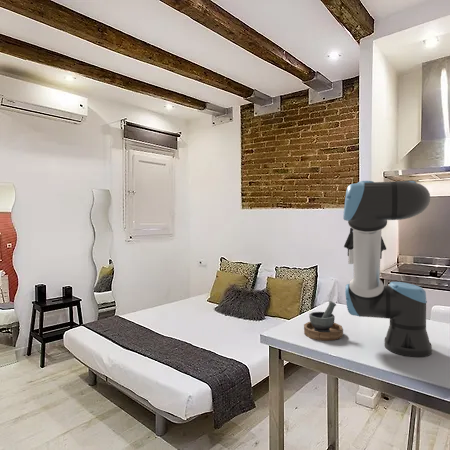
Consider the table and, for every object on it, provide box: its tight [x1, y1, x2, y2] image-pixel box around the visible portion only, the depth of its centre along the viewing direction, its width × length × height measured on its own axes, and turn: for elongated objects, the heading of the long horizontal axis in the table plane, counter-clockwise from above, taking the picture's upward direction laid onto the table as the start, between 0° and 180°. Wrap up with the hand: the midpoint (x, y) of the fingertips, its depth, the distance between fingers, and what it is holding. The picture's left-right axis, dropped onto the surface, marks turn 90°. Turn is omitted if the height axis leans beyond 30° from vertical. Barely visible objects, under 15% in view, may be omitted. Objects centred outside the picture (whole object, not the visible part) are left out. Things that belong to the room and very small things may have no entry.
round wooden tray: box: [303, 321, 344, 342], centre depth 143 cm, size 15×15×3 cm
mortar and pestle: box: [309, 301, 337, 332], centre depth 143 cm, size 11×9×12 cm
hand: (363, 265), depth 154 cm, fingers open, 13 cm apart
